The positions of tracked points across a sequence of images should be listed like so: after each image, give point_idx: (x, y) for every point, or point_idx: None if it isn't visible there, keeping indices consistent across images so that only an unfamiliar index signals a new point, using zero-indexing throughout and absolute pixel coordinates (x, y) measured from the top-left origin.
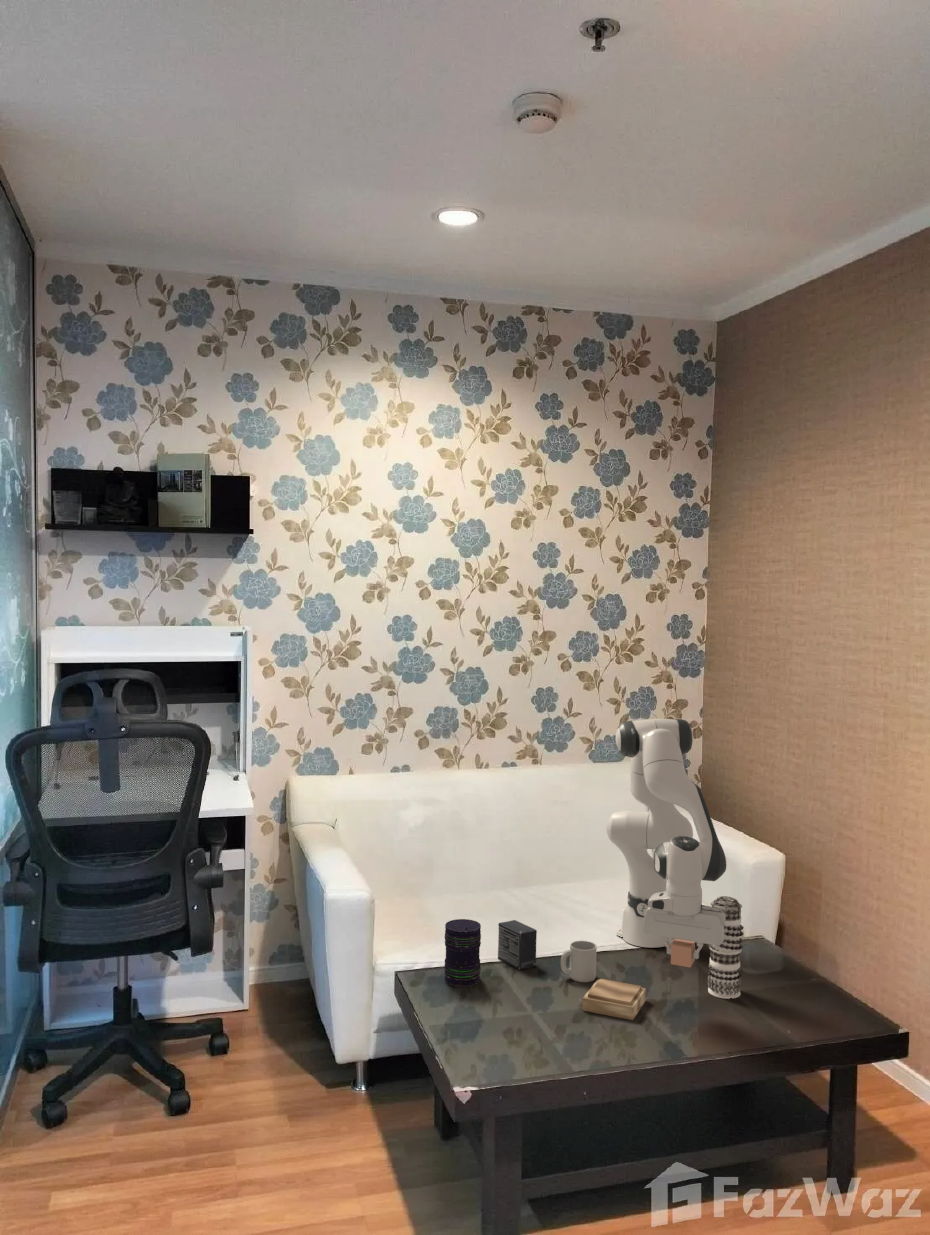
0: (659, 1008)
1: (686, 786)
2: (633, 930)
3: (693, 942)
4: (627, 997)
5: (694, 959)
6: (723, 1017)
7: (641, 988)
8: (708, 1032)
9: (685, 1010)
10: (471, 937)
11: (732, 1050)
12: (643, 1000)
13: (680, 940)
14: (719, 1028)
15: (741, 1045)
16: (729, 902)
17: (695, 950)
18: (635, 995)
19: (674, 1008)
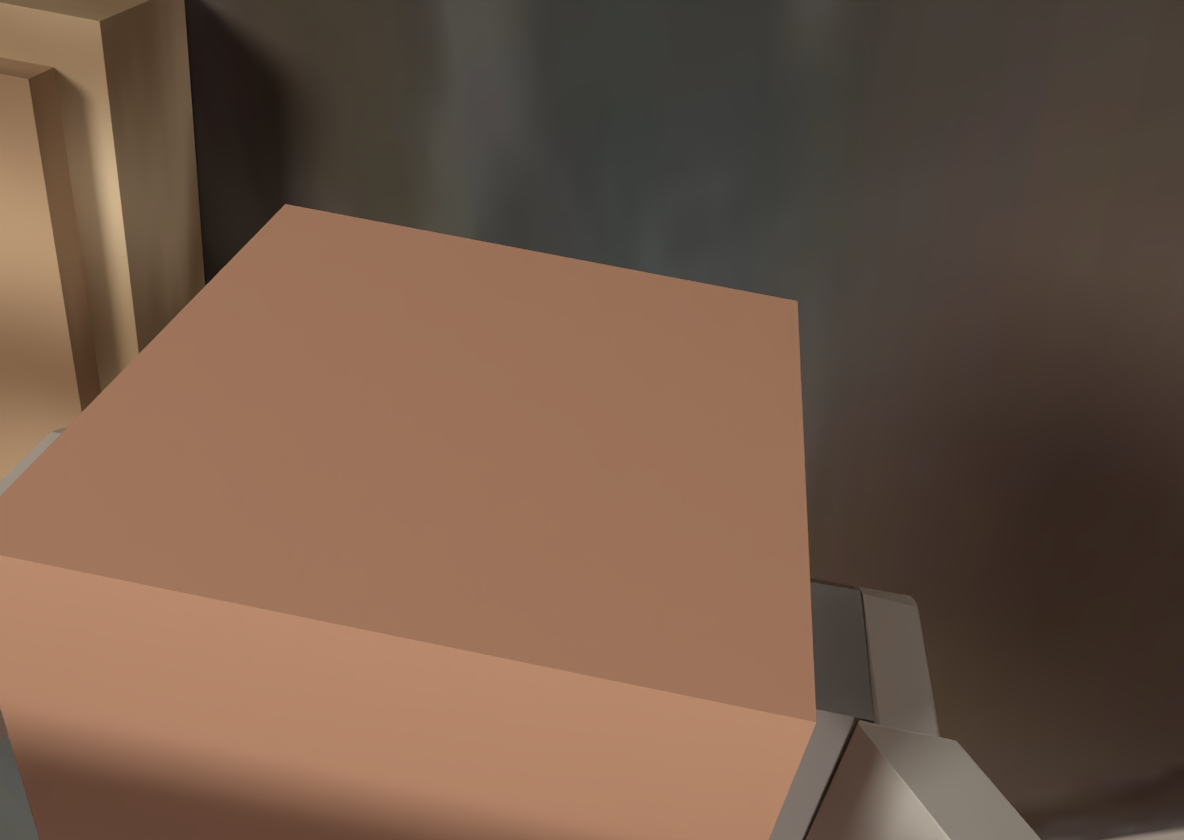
0: (385, 170)
1: None
2: None
3: (744, 827)
4: (30, 450)
5: (795, 322)
6: (1138, 230)
7: (48, 43)
8: (897, 575)
9: (681, 147)
10: None
11: (1054, 796)
12: (170, 115)
13: (224, 720)
14: (1024, 489)
15: (1159, 729)
16: None
17: (812, 753)
18: (79, 354)
19: (549, 125)
